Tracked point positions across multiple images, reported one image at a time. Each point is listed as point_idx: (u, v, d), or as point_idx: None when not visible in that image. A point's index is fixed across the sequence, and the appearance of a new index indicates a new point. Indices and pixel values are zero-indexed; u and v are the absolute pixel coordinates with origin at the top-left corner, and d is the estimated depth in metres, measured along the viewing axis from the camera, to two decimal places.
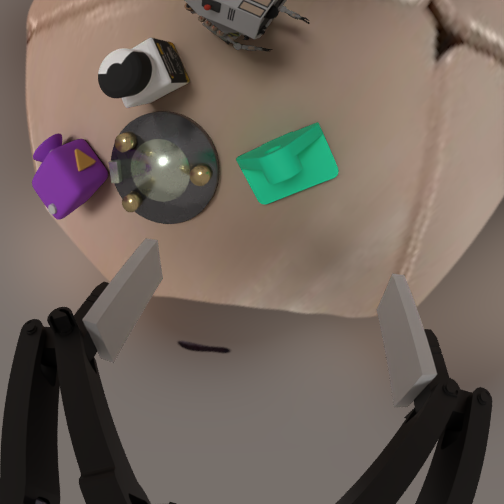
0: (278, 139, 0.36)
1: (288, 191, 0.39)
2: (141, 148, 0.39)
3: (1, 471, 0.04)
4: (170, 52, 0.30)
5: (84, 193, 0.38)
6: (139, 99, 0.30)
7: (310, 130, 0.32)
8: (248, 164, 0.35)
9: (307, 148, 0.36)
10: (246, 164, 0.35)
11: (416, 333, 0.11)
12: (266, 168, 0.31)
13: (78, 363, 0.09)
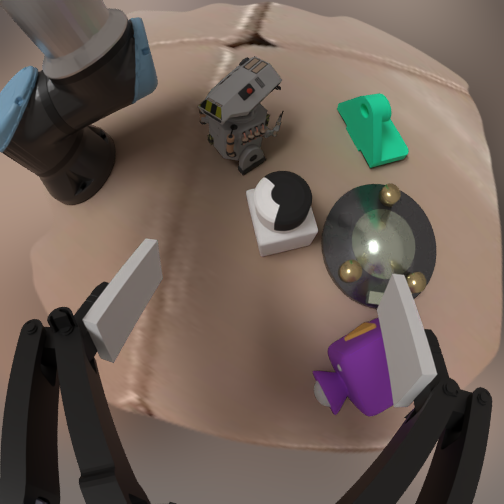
0: (354, 131, 0.41)
1: (395, 131, 0.40)
2: (359, 257, 0.37)
3: (1, 470, 0.04)
4: None
5: None
6: (312, 213, 0.34)
7: (345, 101, 0.39)
8: (377, 139, 0.37)
9: None
10: (377, 142, 0.37)
11: (416, 333, 0.11)
12: (380, 108, 0.33)
13: (78, 363, 0.09)
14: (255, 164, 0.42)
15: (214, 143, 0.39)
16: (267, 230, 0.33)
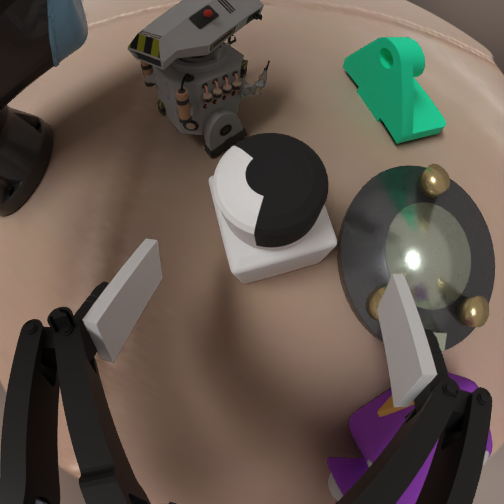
0: (370, 92, 0.26)
1: (425, 96, 0.26)
2: None
3: (1, 470, 0.04)
4: None
5: None
6: (326, 211, 0.19)
7: (355, 52, 0.25)
8: (408, 100, 0.22)
9: None
10: (407, 103, 0.22)
11: (416, 333, 0.11)
12: (410, 53, 0.18)
13: (78, 363, 0.09)
14: (230, 141, 0.27)
15: (167, 113, 0.24)
16: (246, 245, 0.18)
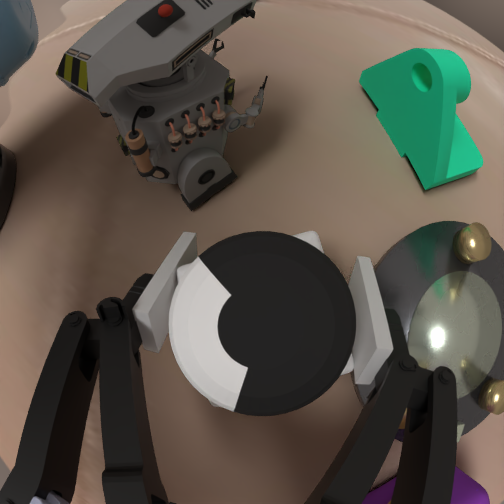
0: (394, 119, 0.20)
1: (459, 124, 0.20)
2: None
3: (17, 459, 0.05)
4: None
5: (481, 486, 0.09)
6: None
7: (376, 64, 0.19)
8: (447, 136, 0.16)
9: None
10: (446, 141, 0.16)
11: (375, 310, 0.12)
12: (454, 74, 0.13)
13: (122, 356, 0.09)
14: (215, 188, 0.21)
15: (130, 152, 0.18)
16: None
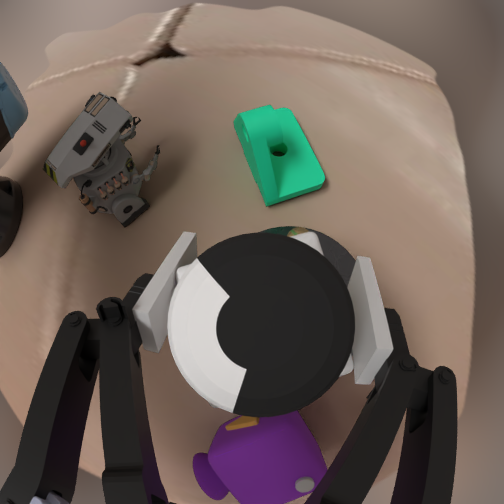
0: (247, 157, 0.34)
1: (308, 151, 0.33)
2: None
3: (17, 459, 0.05)
4: None
5: (295, 421, 0.23)
6: None
7: (235, 119, 0.32)
8: (266, 170, 0.30)
9: None
10: (266, 174, 0.30)
11: (375, 310, 0.12)
12: (261, 128, 0.26)
13: (123, 356, 0.09)
14: (136, 214, 0.34)
15: None
16: None
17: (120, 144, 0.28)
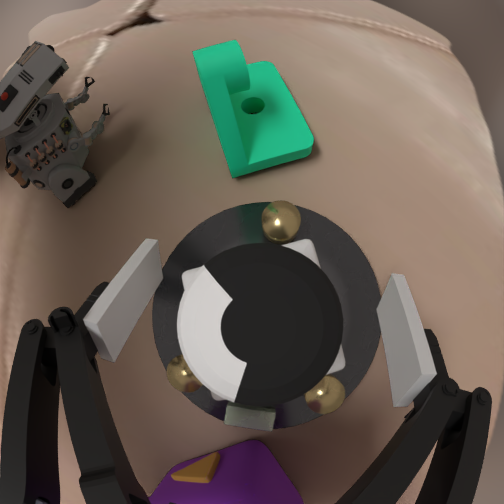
0: None
1: (293, 109, 0.24)
2: None
3: (1, 470, 0.04)
4: None
5: (263, 485, 0.13)
6: None
7: None
8: (227, 124, 0.20)
9: None
10: (227, 129, 0.20)
11: (416, 333, 0.11)
12: (218, 64, 0.17)
13: (78, 363, 0.09)
14: (80, 190, 0.25)
15: None
16: None
17: (59, 103, 0.19)
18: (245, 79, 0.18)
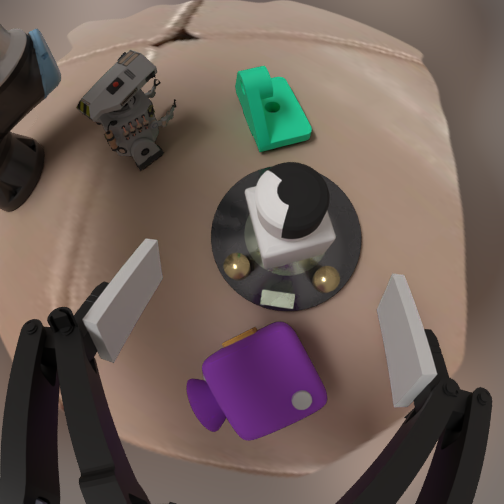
0: (245, 113, 0.38)
1: (298, 109, 0.37)
2: (253, 250, 0.34)
3: (1, 470, 0.04)
4: None
5: None
6: (328, 215, 0.27)
7: (237, 82, 0.36)
8: (259, 117, 0.33)
9: None
10: (259, 120, 0.33)
11: (416, 333, 0.11)
12: (255, 81, 0.30)
13: (78, 363, 0.09)
14: (151, 158, 0.38)
15: None
16: (272, 238, 0.26)
17: (143, 95, 0.32)
18: (270, 91, 0.31)
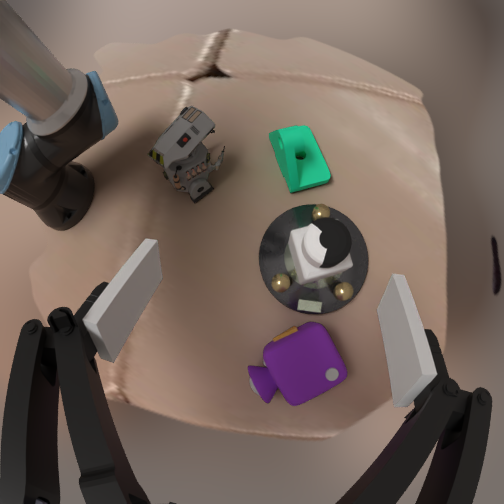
0: (278, 159, 0.49)
1: (320, 157, 0.49)
2: (291, 270, 0.46)
3: (1, 470, 0.04)
4: None
5: (323, 326, 0.38)
6: None
7: (272, 132, 0.48)
8: (292, 168, 0.45)
9: None
10: (292, 170, 0.45)
11: (416, 333, 0.11)
12: (292, 141, 0.42)
13: (78, 363, 0.09)
14: (204, 193, 0.50)
15: (169, 178, 0.48)
16: (311, 266, 0.38)
17: (200, 143, 0.44)
18: (302, 148, 0.43)
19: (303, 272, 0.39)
